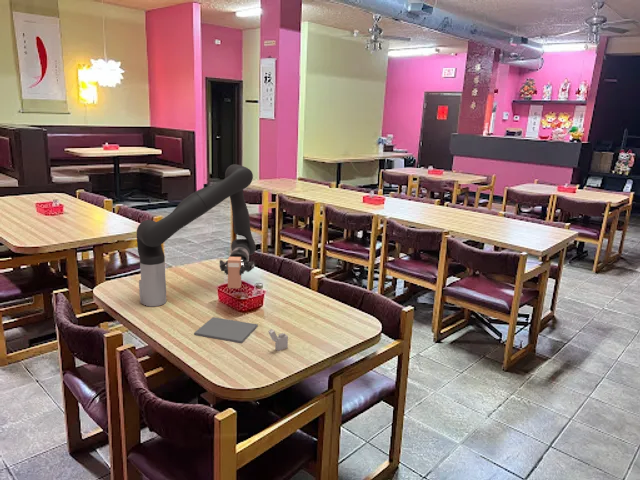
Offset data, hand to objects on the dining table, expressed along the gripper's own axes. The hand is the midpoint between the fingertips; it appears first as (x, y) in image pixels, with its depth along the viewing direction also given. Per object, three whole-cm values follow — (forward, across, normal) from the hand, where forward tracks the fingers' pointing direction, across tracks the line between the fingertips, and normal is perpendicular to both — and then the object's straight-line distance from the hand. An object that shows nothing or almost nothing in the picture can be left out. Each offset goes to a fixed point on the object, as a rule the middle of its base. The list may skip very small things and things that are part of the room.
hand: (233, 272), depth 180 cm
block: (-3, 0, +6) cm, 7 cm away
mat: (+12, -1, +18) cm, 22 cm away
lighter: (+26, +18, +18) cm, 36 cm away
